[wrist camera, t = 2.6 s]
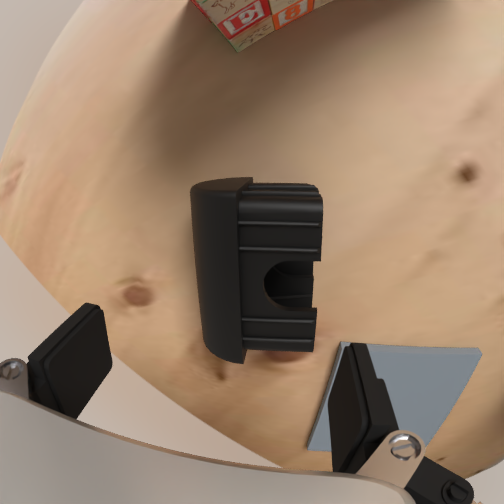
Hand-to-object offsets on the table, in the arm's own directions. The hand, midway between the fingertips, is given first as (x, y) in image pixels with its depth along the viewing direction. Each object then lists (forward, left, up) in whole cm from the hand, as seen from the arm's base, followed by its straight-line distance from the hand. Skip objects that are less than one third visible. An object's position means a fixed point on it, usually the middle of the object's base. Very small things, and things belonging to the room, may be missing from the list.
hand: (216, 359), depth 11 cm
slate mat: (-14, +14, -12) cm, 23 cm away
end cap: (0, 0, -12) cm, 12 cm away
